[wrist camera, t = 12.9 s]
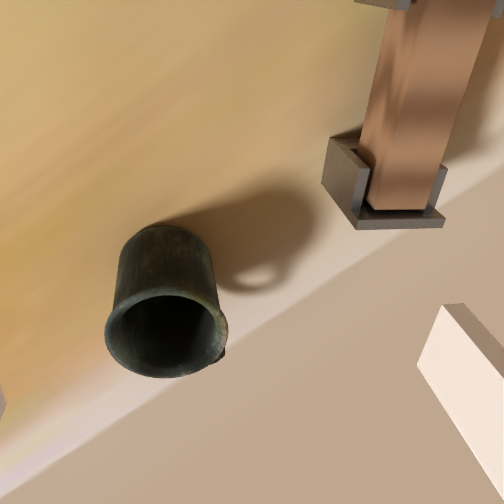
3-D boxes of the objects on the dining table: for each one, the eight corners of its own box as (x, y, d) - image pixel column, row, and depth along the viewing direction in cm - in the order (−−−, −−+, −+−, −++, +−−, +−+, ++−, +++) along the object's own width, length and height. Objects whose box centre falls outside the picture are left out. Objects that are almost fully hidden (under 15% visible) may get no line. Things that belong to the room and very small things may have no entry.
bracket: (329, 137, 44) (368, 177, 35) (406, 139, 45) (460, 177, 37) (321, 183, 46) (355, 230, 38) (394, 182, 48) (442, 227, 40)
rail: (398, -30, 34) (439, -29, 29) (454, -24, 35) (503, -22, 30) (350, 181, 43) (374, 209, 39) (395, 182, 44) (424, 209, 40)
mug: (172, 200, 44) (176, 267, 35) (248, 284, 52) (269, 358, 43) (93, 256, 46) (75, 334, 37) (178, 329, 54) (182, 409, 45)
